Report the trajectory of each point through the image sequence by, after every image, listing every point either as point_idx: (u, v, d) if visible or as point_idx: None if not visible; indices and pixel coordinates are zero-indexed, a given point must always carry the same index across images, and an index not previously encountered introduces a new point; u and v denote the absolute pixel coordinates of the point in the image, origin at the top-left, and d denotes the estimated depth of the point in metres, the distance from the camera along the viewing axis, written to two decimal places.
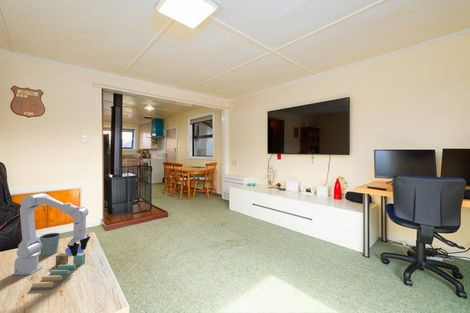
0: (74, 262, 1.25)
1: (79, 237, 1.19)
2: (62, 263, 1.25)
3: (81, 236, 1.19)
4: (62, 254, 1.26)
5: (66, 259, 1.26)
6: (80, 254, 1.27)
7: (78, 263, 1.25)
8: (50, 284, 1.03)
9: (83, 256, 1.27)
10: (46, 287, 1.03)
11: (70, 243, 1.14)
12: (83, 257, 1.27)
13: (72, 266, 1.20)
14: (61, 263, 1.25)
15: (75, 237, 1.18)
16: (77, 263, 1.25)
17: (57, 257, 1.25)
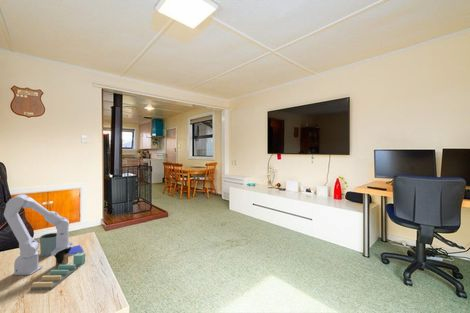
0: (74, 262, 1.25)
1: (62, 247, 1.24)
2: (62, 263, 1.25)
3: (64, 246, 1.25)
4: None
5: (66, 259, 1.26)
6: (80, 254, 1.27)
7: (78, 263, 1.25)
8: (50, 284, 1.03)
9: (83, 256, 1.27)
10: (46, 287, 1.03)
11: (52, 253, 1.19)
12: (83, 257, 1.27)
13: (72, 266, 1.20)
14: (61, 263, 1.25)
15: (58, 247, 1.23)
16: (77, 263, 1.25)
17: None
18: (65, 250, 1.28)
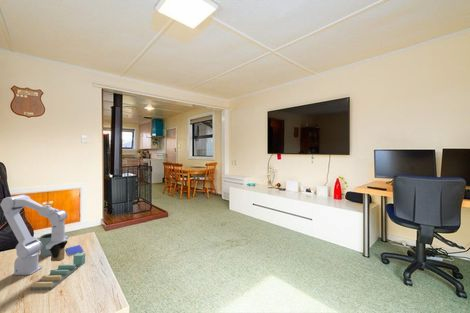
0: (74, 262, 1.25)
1: (57, 240, 1.17)
2: (58, 258, 1.17)
3: (59, 239, 1.17)
4: None
5: (62, 254, 1.19)
6: (80, 254, 1.27)
7: (78, 263, 1.25)
8: (50, 284, 1.03)
9: (83, 256, 1.27)
10: (46, 287, 1.03)
11: (47, 247, 1.12)
12: (83, 257, 1.27)
13: (72, 266, 1.20)
14: (57, 258, 1.17)
15: (53, 240, 1.16)
16: (77, 263, 1.25)
17: None
18: (61, 244, 1.21)
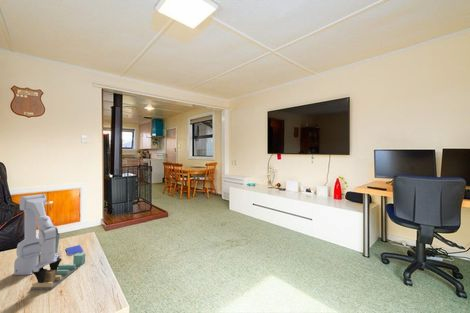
0: (74, 262, 1.25)
1: (47, 261, 1.04)
2: None
3: (49, 260, 1.05)
4: (48, 271, 1.06)
5: (53, 277, 1.07)
6: (80, 254, 1.27)
7: (78, 263, 1.25)
8: (50, 284, 1.03)
9: (83, 256, 1.27)
10: (46, 287, 1.03)
11: (35, 269, 0.99)
12: (83, 257, 1.27)
13: (72, 266, 1.20)
14: None
15: (42, 261, 1.03)
16: (77, 263, 1.25)
17: None
18: (54, 262, 1.10)
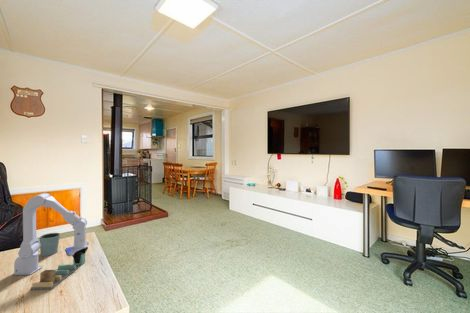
0: (74, 262, 1.25)
1: (79, 247, 1.25)
2: None
3: (81, 246, 1.25)
4: (48, 271, 1.06)
5: (53, 277, 1.07)
6: None
7: (78, 263, 1.25)
8: (50, 284, 1.03)
9: (83, 256, 1.27)
10: (46, 287, 1.03)
11: (71, 253, 1.20)
12: (83, 257, 1.27)
13: (72, 266, 1.20)
14: None
15: (75, 247, 1.24)
16: (77, 263, 1.25)
17: (42, 275, 1.05)
18: (82, 250, 1.29)
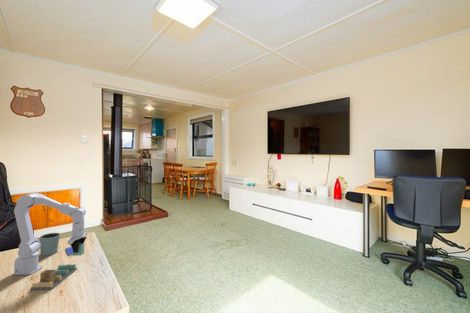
0: (73, 252, 1.24)
1: (78, 236, 1.23)
2: None
3: (80, 235, 1.24)
4: (48, 271, 1.06)
5: (53, 277, 1.07)
6: (79, 244, 1.26)
7: (77, 253, 1.24)
8: (50, 284, 1.03)
9: (82, 246, 1.26)
10: (46, 287, 1.03)
11: (69, 242, 1.18)
12: (82, 247, 1.26)
13: (72, 266, 1.20)
14: None
15: (74, 236, 1.23)
16: (76, 253, 1.24)
17: (42, 275, 1.05)
18: (80, 239, 1.27)
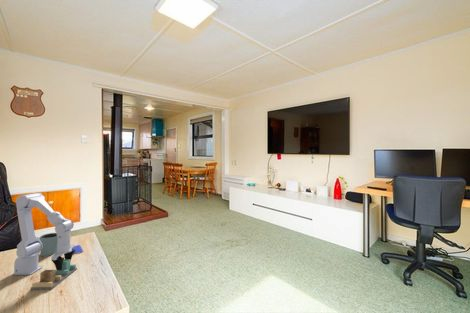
0: None
1: (63, 251, 1.15)
2: None
3: (65, 250, 1.16)
4: (48, 271, 1.06)
5: (53, 277, 1.07)
6: (64, 260, 1.17)
7: None
8: (50, 284, 1.03)
9: (68, 262, 1.17)
10: (46, 287, 1.03)
11: (53, 258, 1.10)
12: (68, 264, 1.17)
13: (72, 266, 1.20)
14: None
15: (59, 251, 1.14)
16: None
17: (42, 275, 1.05)
18: (69, 253, 1.20)
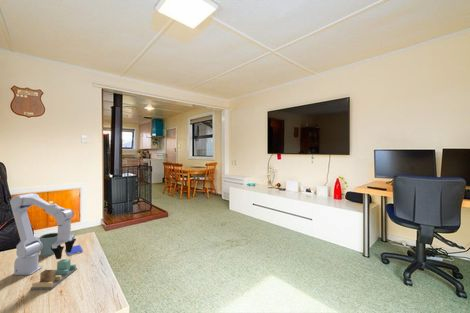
0: (58, 269, 1.16)
1: (63, 239, 1.15)
2: None
3: (66, 238, 1.16)
4: (48, 271, 1.06)
5: (53, 277, 1.07)
6: (64, 260, 1.17)
7: None
8: (50, 284, 1.03)
9: (68, 262, 1.17)
10: (46, 287, 1.03)
11: (53, 246, 1.10)
12: (68, 264, 1.17)
13: (72, 266, 1.20)
14: None
15: (59, 239, 1.14)
16: None
17: (42, 275, 1.05)
18: (69, 242, 1.21)
